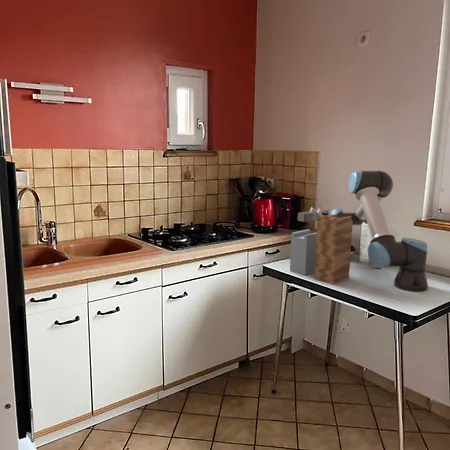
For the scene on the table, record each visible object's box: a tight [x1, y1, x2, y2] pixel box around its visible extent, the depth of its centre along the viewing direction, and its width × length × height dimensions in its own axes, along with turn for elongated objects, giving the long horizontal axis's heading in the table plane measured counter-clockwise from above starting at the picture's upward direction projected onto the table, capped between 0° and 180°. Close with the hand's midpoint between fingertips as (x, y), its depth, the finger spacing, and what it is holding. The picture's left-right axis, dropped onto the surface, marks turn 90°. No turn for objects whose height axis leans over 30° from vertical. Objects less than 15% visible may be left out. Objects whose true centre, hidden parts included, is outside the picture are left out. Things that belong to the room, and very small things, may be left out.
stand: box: [314, 214, 353, 285], centre depth 228 cm, size 11×14×33 cm
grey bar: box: [297, 208, 330, 223], centre depth 244 cm, size 5×22×4 cm, turn 133°
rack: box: [289, 229, 317, 276], centre depth 243 cm, size 10×14×21 cm
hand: (314, 210), depth 243 cm, fingers closed on grey bar, 4 cm apart
